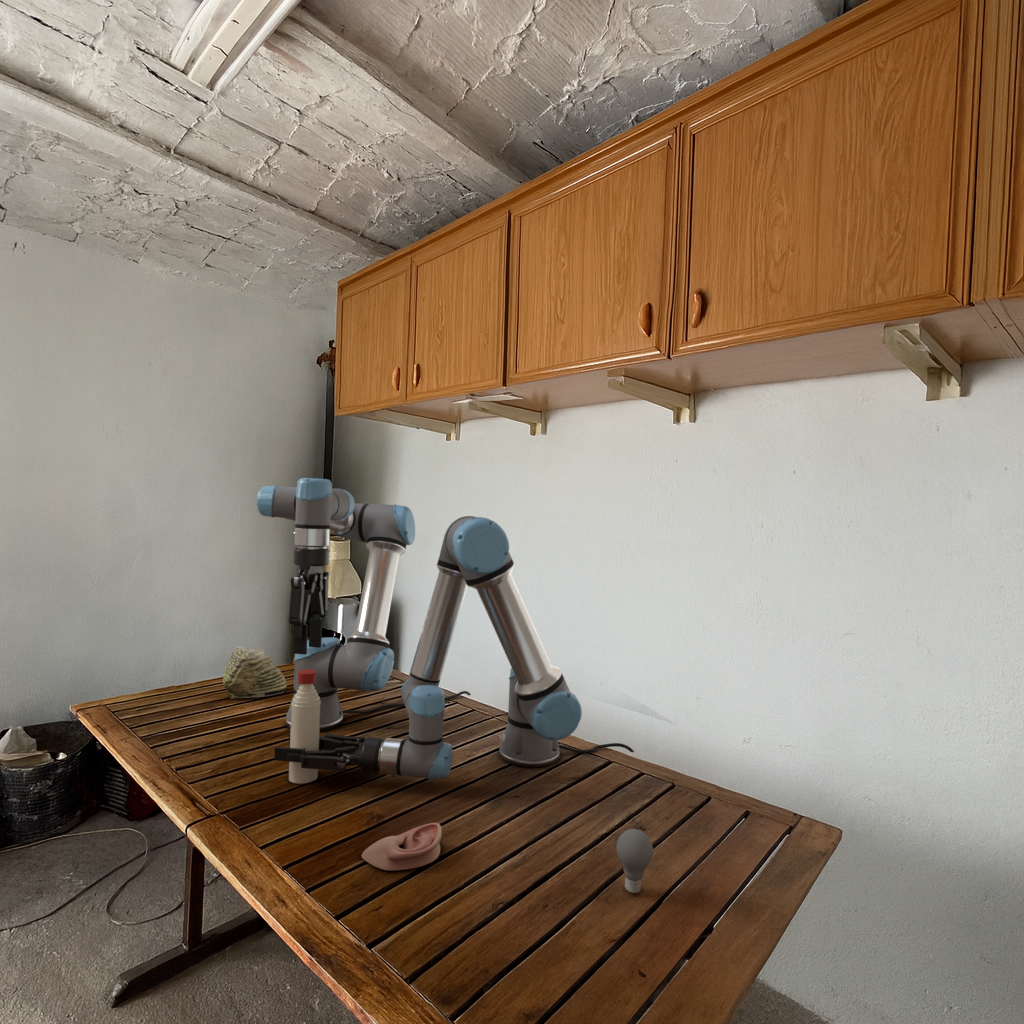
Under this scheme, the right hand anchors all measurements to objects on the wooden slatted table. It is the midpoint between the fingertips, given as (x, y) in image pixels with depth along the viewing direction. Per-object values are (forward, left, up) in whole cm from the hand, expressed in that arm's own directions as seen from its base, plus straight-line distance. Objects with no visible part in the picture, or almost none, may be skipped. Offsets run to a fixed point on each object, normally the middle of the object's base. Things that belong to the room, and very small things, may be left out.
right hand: (282, 747), depth 143 cm
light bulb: (-56, +59, -6) cm, 82 cm away
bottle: (-5, +2, -6) cm, 8 cm away
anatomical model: (-21, +38, -6) cm, 44 cm away
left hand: (-5, +2, +23) cm, 23 cm away
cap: (-5, +2, +17) cm, 18 cm away
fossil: (+9, -61, -6) cm, 62 cm away
